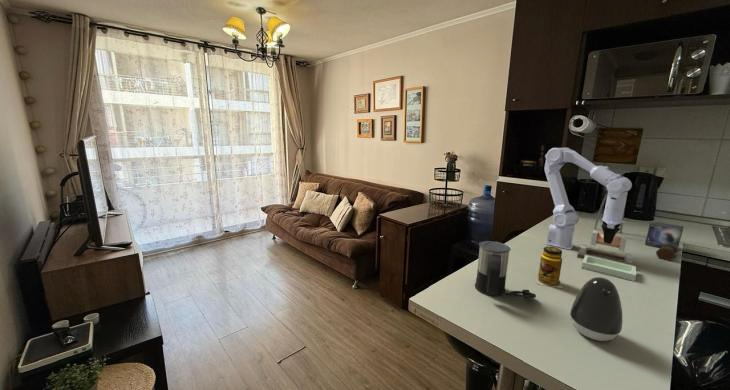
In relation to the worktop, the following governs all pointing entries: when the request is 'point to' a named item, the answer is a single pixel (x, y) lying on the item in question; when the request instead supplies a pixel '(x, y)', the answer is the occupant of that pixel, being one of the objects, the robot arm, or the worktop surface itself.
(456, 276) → the worktop surface
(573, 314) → the dark grey egg dome
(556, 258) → the condiment
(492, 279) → the milk frother
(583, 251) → the frame
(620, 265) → the parts tray
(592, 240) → the fuse
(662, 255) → the brown elongated lump
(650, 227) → the picture frame
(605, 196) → the juicer
